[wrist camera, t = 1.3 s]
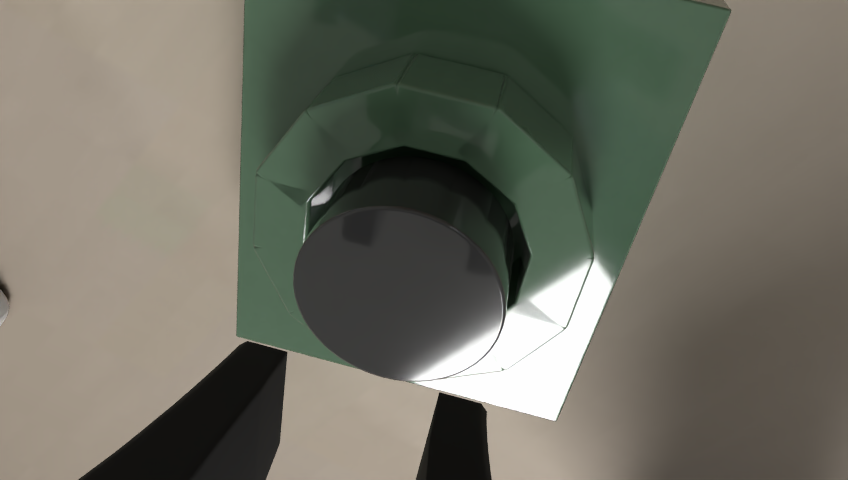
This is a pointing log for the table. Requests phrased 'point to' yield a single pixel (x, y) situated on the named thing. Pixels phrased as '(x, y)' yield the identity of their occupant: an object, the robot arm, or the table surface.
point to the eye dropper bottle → (3, 307)
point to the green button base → (470, 149)
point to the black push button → (407, 270)
